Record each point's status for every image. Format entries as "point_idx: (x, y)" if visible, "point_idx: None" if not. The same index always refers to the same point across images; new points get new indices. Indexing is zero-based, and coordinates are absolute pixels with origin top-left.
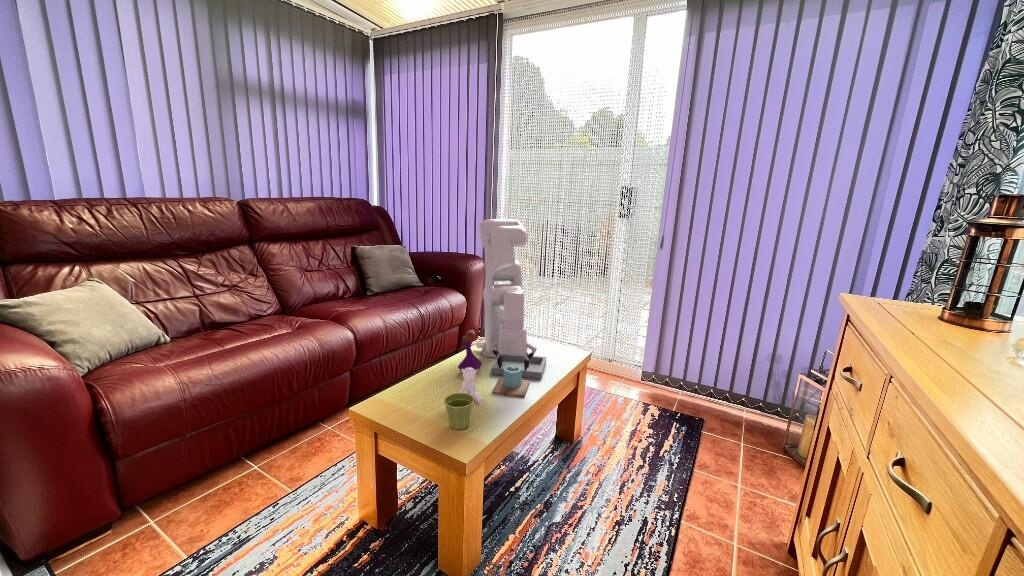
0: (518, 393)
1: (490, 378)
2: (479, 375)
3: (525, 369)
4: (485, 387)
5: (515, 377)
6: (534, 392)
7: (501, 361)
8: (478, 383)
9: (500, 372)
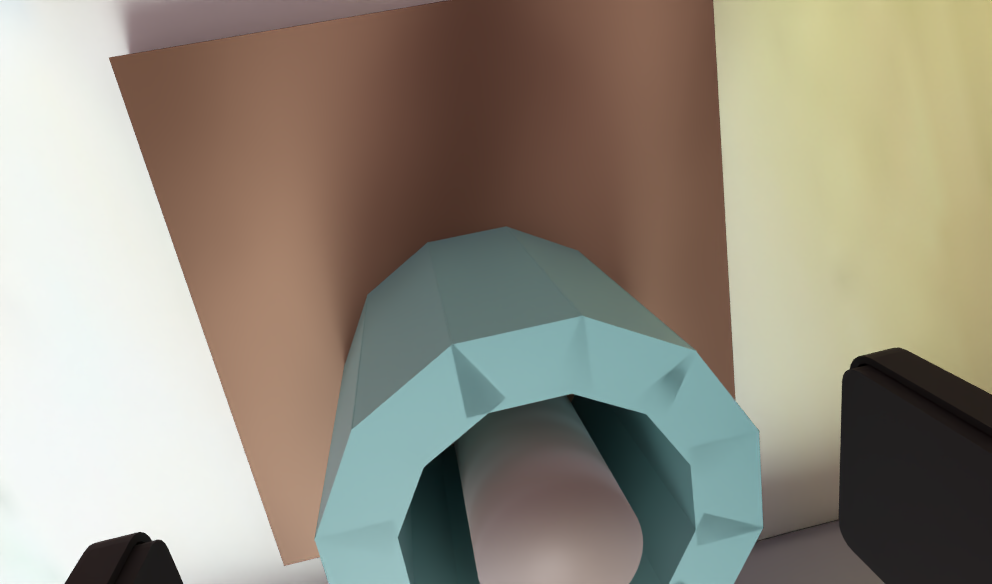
0: (246, 77)
1: (838, 420)
2: None
3: (99, 558)
4: (837, 146)
5: (399, 334)
6: (72, 310)
7: (968, 563)
8: (956, 221)
9: (764, 576)
